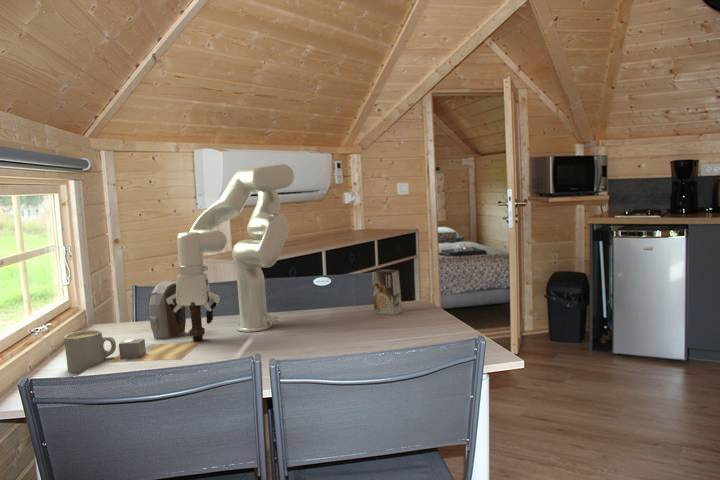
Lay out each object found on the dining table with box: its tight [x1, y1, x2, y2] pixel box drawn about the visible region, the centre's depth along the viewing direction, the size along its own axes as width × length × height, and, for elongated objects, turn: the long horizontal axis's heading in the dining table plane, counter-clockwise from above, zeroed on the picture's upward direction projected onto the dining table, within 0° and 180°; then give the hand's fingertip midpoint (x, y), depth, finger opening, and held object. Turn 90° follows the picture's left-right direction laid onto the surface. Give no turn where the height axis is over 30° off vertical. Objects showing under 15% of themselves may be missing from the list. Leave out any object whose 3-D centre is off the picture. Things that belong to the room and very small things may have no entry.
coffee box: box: [371, 268, 403, 316], centre depth 220 cm, size 9×6×16 cm
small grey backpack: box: [147, 280, 187, 340], centre depth 201 cm, size 15×8×20 cm, turn 163°
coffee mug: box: [63, 329, 117, 374], centre depth 173 cm, size 13×10×10 cm
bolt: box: [189, 302, 206, 343], centre depth 189 cm, size 6×5×15 cm
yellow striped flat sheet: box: [107, 341, 202, 363], centre depth 179 cm, size 22×18×2 cm
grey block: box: [118, 338, 146, 359], centre depth 176 cm, size 6×4×5 cm
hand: (194, 323), depth 189 cm, fingers open, 9 cm apart
